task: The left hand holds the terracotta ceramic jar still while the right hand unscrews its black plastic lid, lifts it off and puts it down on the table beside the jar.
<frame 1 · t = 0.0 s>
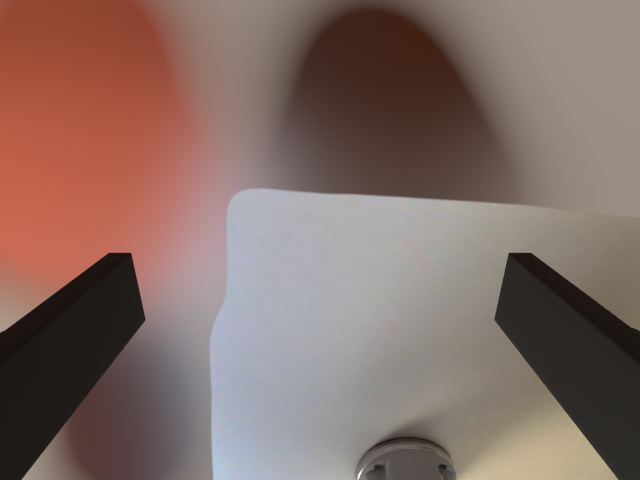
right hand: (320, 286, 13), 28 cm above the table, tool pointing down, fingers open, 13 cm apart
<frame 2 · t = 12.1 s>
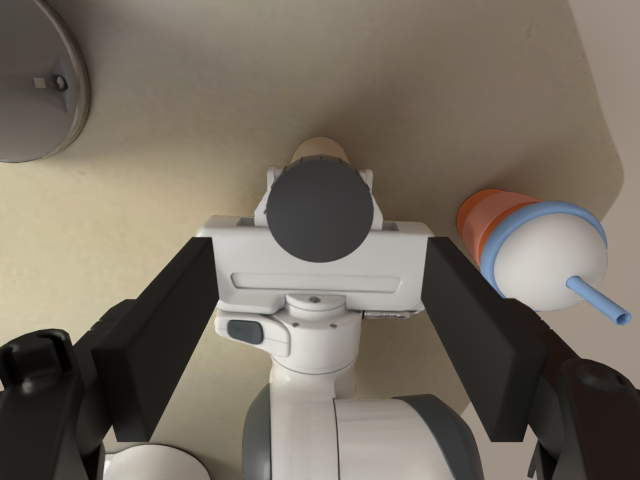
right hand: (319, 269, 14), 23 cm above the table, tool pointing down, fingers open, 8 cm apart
left hand: (319, 168, 29), fingers closed on jar, 5 cm apart
cup with straw: (485, 217, 37), on the table
jar: (319, 165, 35), on the table, touching left hand
lid: (319, 212, 21), point 15 cm above the table, screwed on, not yet turned
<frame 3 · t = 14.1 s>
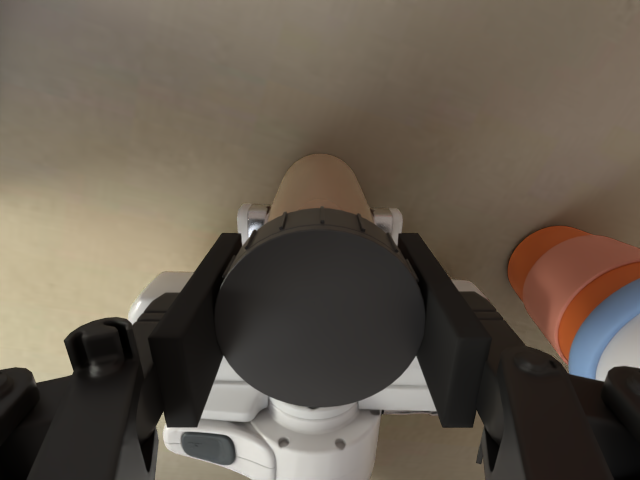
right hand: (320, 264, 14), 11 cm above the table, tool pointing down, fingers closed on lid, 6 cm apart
cup with straw: (546, 262, 27), on the table
jar: (319, 192, 25), on the table, touching left hand
lid: (319, 321, 11), point 15 cm above the table, screwed on, not yet turned, touching right hand
when the right hand's fingers open (12 cm above the table, at t = 15.6 s): lid stays where it is, point 16 cm above the table.
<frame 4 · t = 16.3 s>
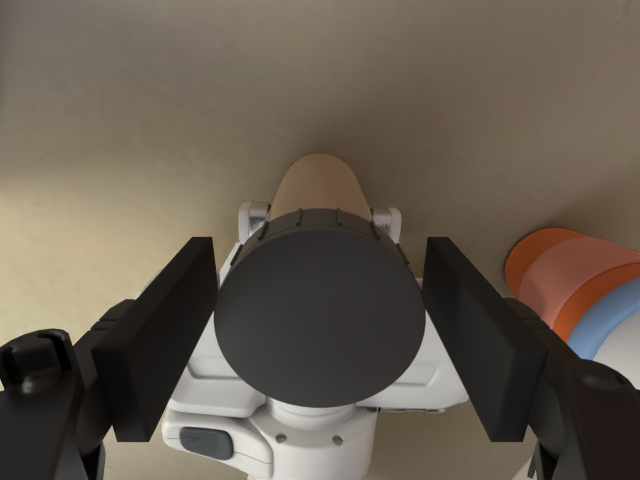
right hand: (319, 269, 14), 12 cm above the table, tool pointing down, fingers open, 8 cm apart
left hand: (319, 207, 19), fingers closed on jar, 5 cm apart
cup with straw: (543, 263, 27), on the table
jar: (319, 192, 25), on the table, touching left hand
lid: (319, 321, 11), point 16 cm above the table, turned 77° so far, risen 0.3 cm, still on its thread
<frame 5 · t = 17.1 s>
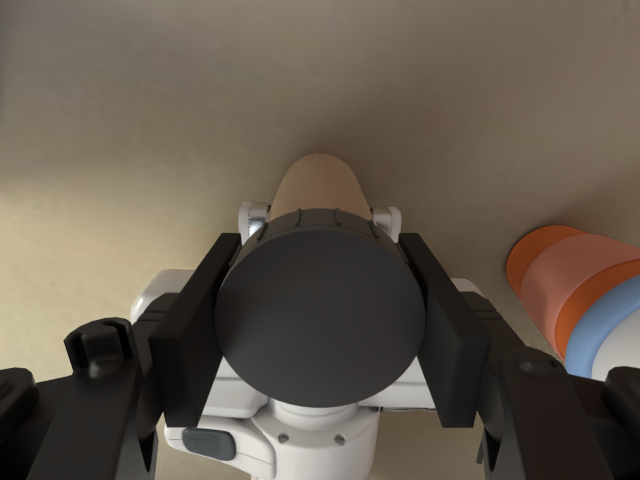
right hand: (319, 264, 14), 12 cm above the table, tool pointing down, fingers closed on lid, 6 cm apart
cup with straw: (544, 261, 27), on the table
jar: (319, 192, 25), on the table, touching left hand
lid: (319, 321, 11), point 16 cm above the table, turned 77° so far, risen 0.3 cm, still on its thread, touching right hand
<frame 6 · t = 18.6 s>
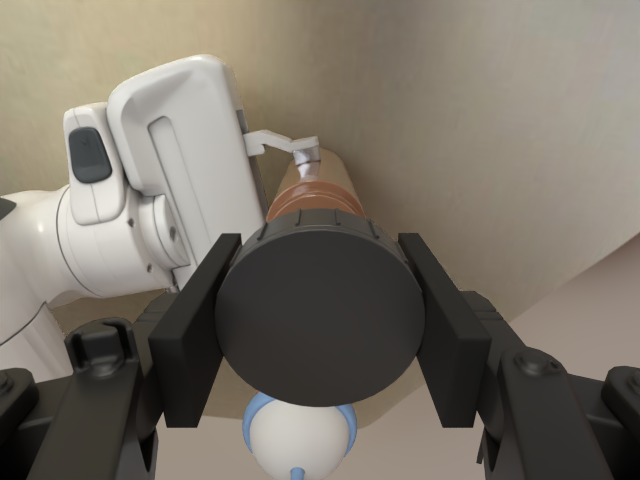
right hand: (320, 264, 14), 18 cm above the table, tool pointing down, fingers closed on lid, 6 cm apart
left hand: (328, 195, 25), fingers closed on jar, 5 cm apart
cup with straw: (304, 345, 38), on the table
jar: (316, 178, 32), on the table, touching left hand
lid: (319, 321, 11), point 22 cm above the table, off its thread, touching right hand
when the right hand's fingers open (0 cm above the table, at t = 24.9 s): lid drops 3 cm, point 2 cm above the table.
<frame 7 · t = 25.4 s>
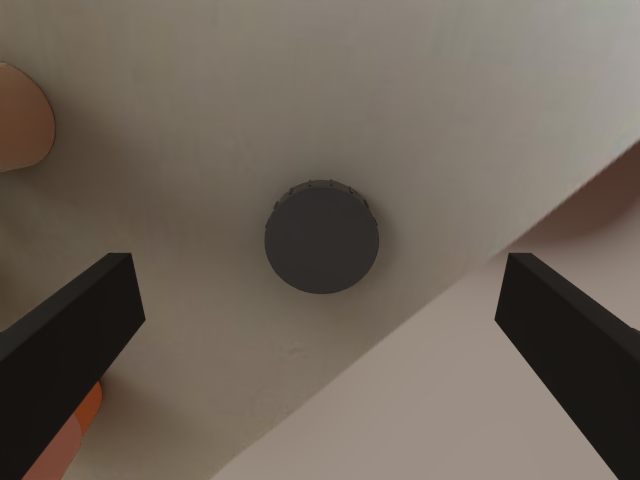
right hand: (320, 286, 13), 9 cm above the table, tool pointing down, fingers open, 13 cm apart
cup with straw: (60, 385, 25), on the table
jar: (3, 116, 19), on the table, touching left hand
lid: (321, 241, 20), point 2 cm above the table, off its thread
when the left hand's fingers open (7 cm above the table, at t = 25.6 s): jar stays where it is, on the table.
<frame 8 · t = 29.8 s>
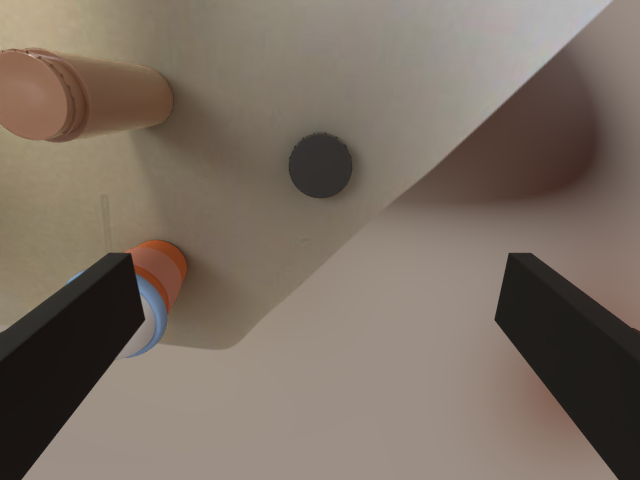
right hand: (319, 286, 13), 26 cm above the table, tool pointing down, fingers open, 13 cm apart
cup with straw: (161, 263, 41), on the table
jar: (145, 96, 35), on the table
lid: (320, 167, 35), point 2 cm above the table, off its thread
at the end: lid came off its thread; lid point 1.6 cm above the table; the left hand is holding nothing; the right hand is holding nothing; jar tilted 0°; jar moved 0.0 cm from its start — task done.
